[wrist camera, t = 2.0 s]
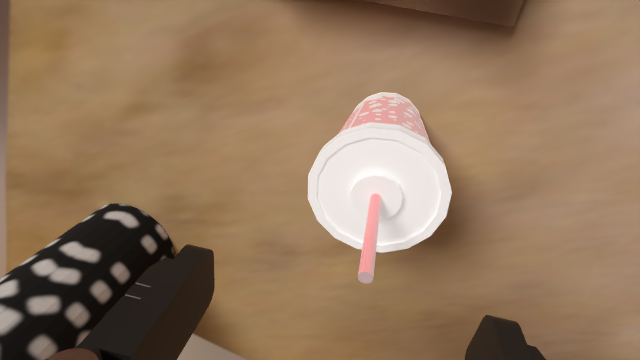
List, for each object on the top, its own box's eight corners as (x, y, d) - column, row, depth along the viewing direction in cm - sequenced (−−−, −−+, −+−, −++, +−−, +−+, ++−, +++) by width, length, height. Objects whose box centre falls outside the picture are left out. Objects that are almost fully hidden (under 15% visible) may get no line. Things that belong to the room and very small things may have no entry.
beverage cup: (366, 182, 25) (332, 360, 13) (321, 109, 23) (232, 234, 11) (450, 146, 22) (506, 323, 10) (407, 60, 21) (415, 152, 9)
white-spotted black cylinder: (190, 264, 33) (-49, 570, 15) (130, 283, 36) (-125, 554, 18) (135, 191, 30) (-234, 463, 13) (75, 218, 33) (-288, 466, 16)
